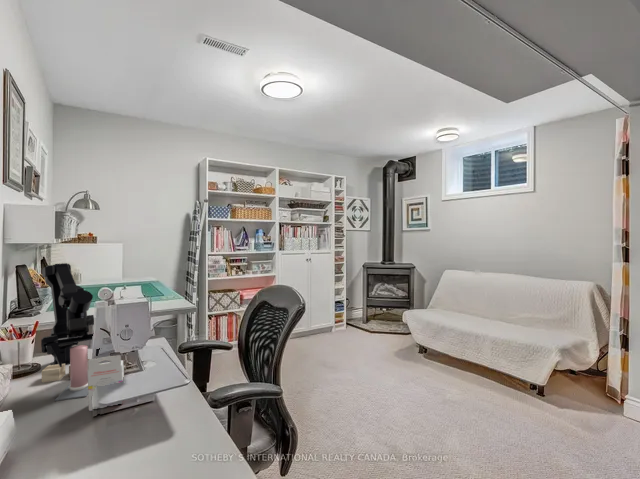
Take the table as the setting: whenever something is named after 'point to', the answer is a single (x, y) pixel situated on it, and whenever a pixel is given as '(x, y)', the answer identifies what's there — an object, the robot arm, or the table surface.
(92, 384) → the ink cartridge box
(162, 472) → the table surface
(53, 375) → the birch block
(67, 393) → the slate mat
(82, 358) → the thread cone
